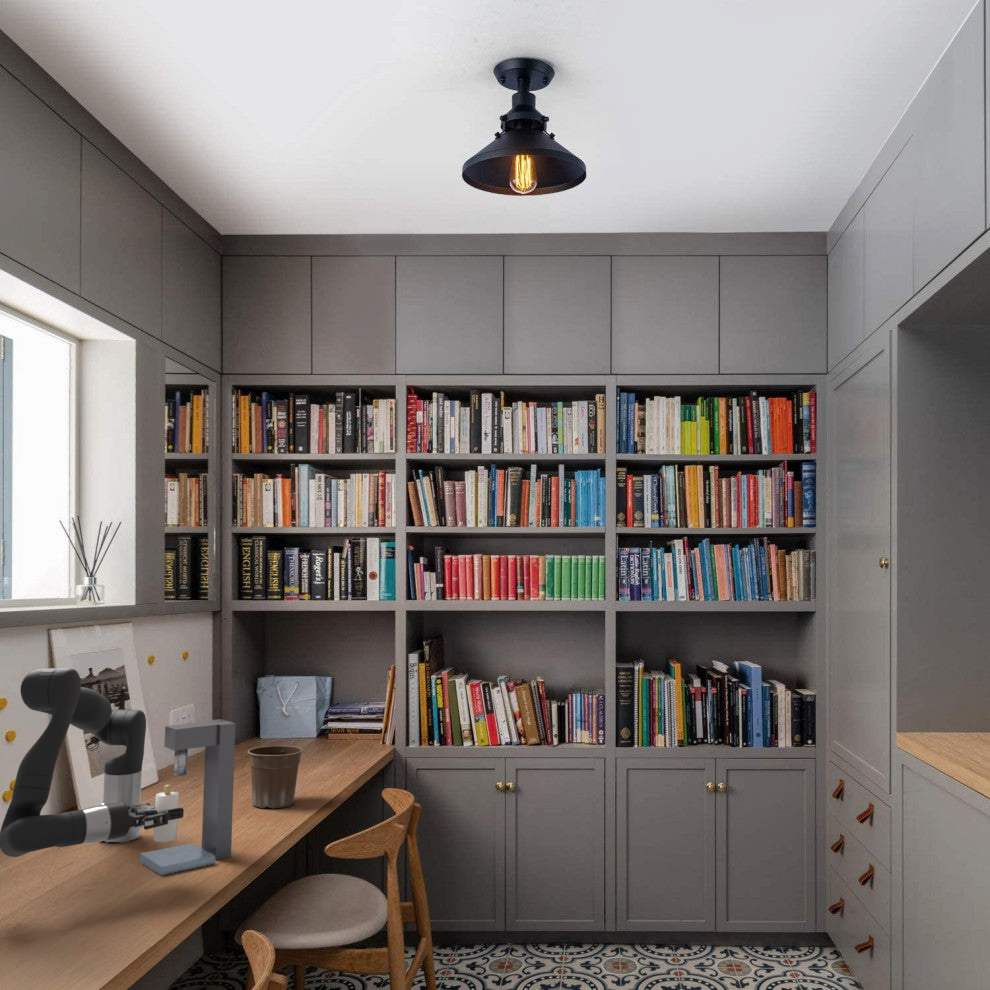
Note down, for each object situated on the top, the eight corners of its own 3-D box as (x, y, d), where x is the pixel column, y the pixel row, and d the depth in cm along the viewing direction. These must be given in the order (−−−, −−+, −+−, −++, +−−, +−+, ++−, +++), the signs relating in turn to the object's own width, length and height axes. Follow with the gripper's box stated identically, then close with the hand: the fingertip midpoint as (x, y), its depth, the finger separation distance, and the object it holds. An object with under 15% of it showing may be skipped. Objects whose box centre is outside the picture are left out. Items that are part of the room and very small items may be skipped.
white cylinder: (151, 842, 206) (153, 788, 207) (156, 836, 211) (158, 783, 212) (174, 841, 207) (176, 787, 208) (178, 835, 212) (181, 782, 213)
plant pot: (279, 794, 288) (280, 742, 289) (312, 803, 278) (313, 749, 279) (235, 804, 275) (236, 750, 277) (268, 814, 265) (269, 757, 266)
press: (161, 875, 212) (167, 733, 214) (125, 852, 228) (130, 720, 231) (235, 859, 224) (240, 724, 227) (196, 838, 241) (200, 713, 243)
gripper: (115, 811, 195) (192, 799, 207) (91, 799, 206) (165, 787, 217) (114, 848, 195) (190, 833, 206) (90, 833, 205) (164, 820, 217)
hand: (177, 810), depth 212 cm, fingers closed on white cylinder, 5 cm apart
